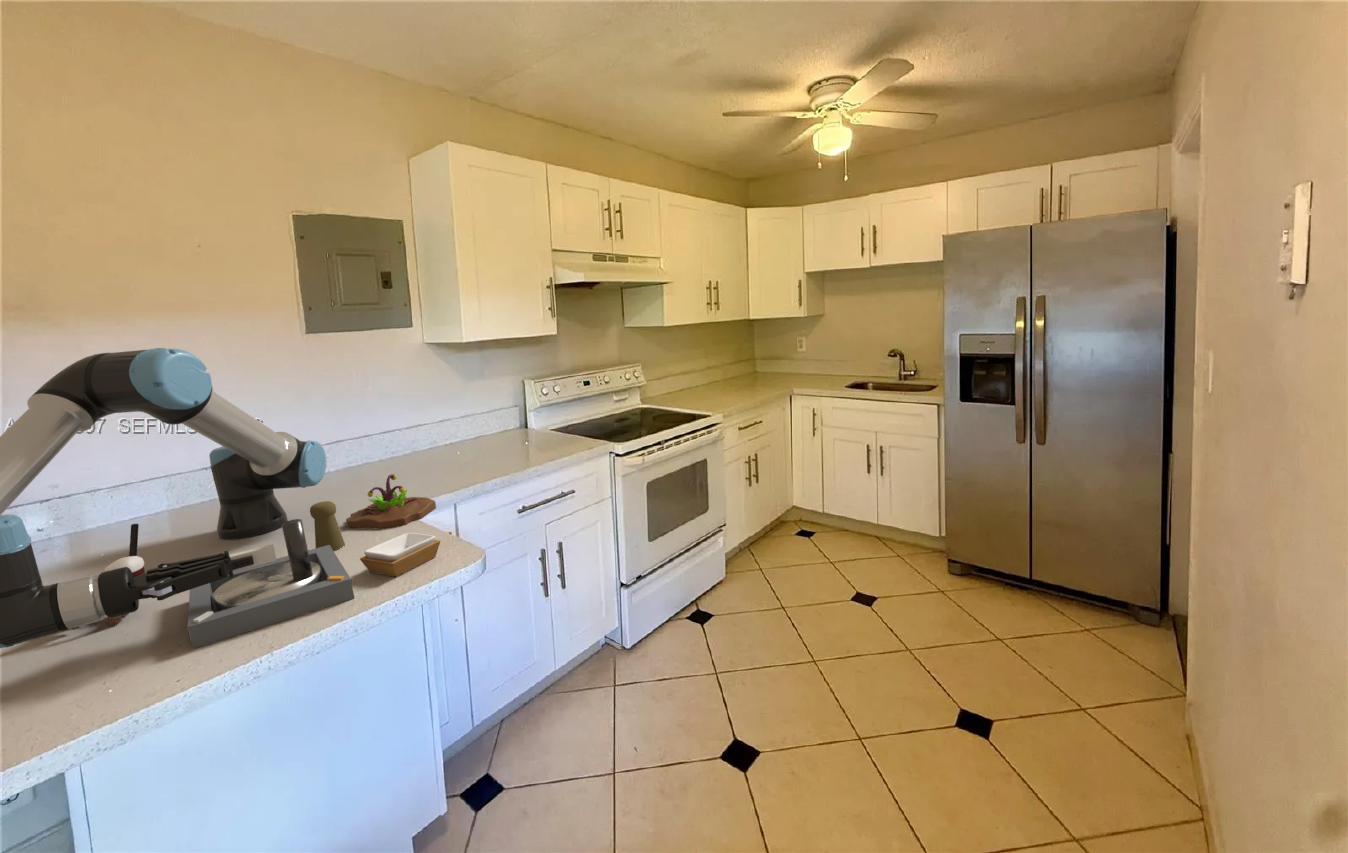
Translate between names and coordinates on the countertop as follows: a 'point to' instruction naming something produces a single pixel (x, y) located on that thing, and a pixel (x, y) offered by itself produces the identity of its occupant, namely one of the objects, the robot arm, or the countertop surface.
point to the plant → (391, 509)
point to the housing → (266, 601)
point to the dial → (273, 573)
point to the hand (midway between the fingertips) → (274, 552)
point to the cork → (326, 525)
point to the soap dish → (400, 554)
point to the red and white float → (130, 556)
